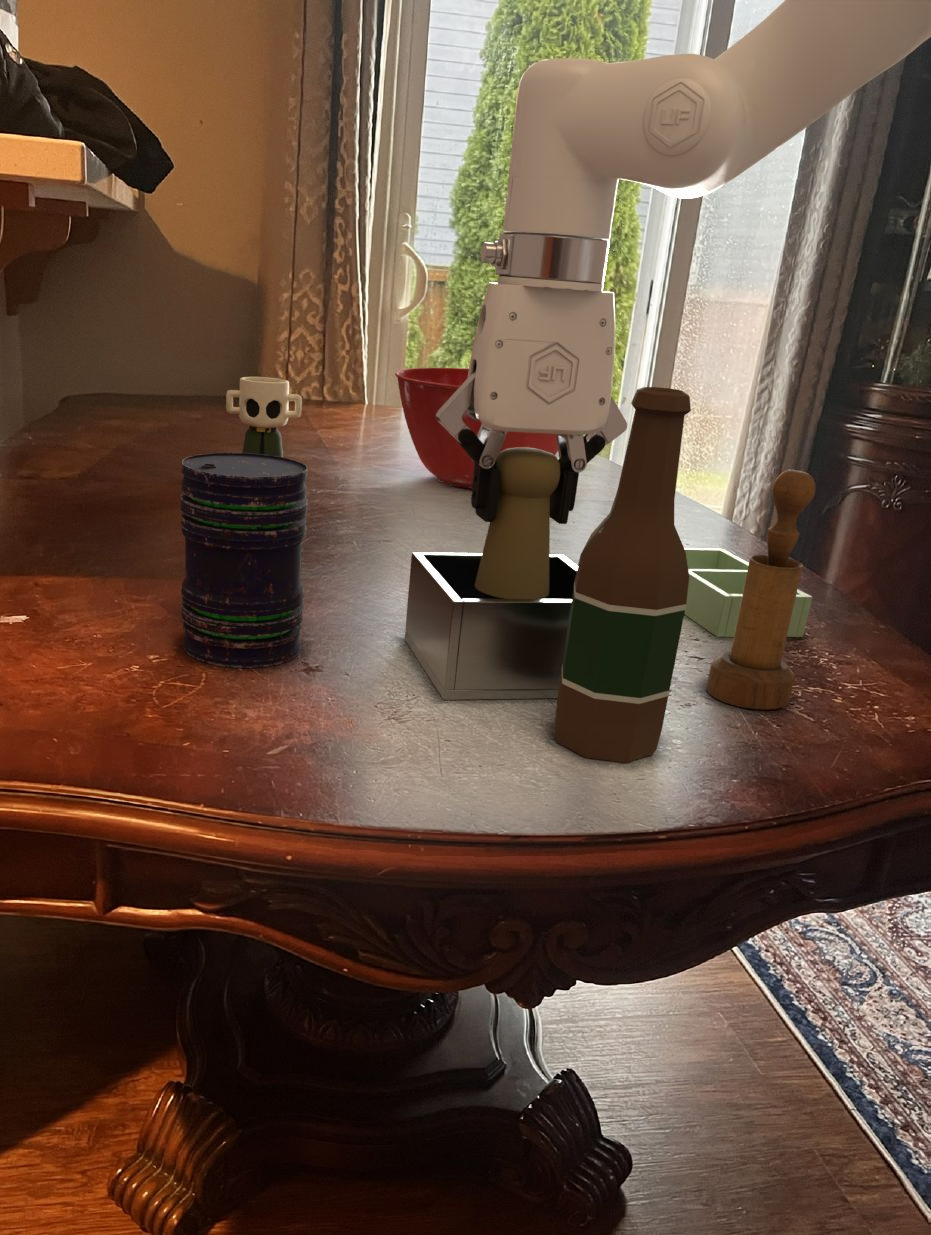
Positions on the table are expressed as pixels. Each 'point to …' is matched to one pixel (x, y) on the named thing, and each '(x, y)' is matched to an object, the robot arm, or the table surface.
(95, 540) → the table surface
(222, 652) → the oil drum
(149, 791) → the table surface
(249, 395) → the character mug
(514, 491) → the cork
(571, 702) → the beer bottle
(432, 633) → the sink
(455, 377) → the mixing bowl
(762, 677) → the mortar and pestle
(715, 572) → the divided storage box
